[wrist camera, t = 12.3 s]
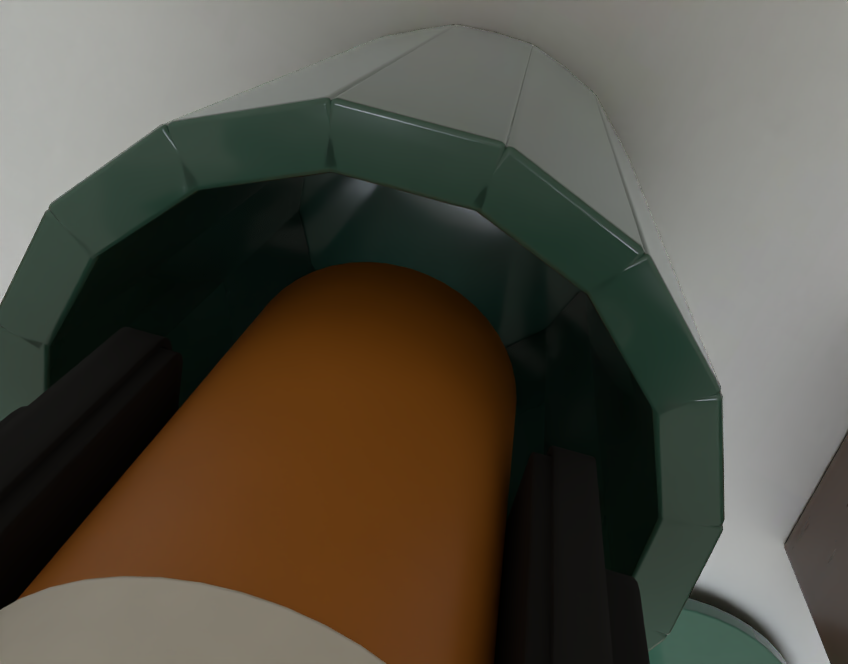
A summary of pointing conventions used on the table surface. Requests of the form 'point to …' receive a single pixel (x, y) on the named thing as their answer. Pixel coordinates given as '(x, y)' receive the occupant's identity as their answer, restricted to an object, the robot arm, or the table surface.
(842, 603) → the stand
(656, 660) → the lid
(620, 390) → the tin
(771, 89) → the table surface
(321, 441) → the vial
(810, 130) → the table surface
